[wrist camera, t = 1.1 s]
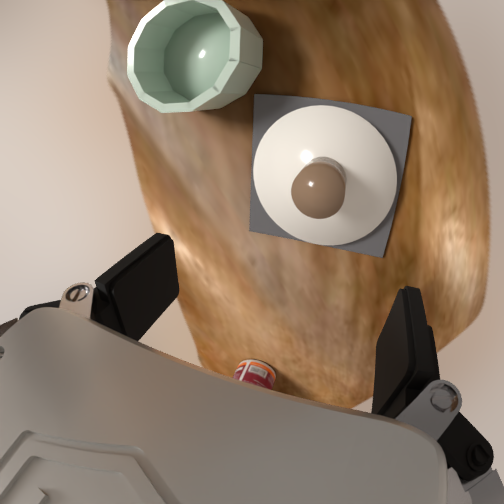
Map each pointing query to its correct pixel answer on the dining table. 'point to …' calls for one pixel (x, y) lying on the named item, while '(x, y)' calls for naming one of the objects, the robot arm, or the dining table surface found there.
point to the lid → (325, 175)
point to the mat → (386, 122)
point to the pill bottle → (255, 373)
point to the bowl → (193, 55)
